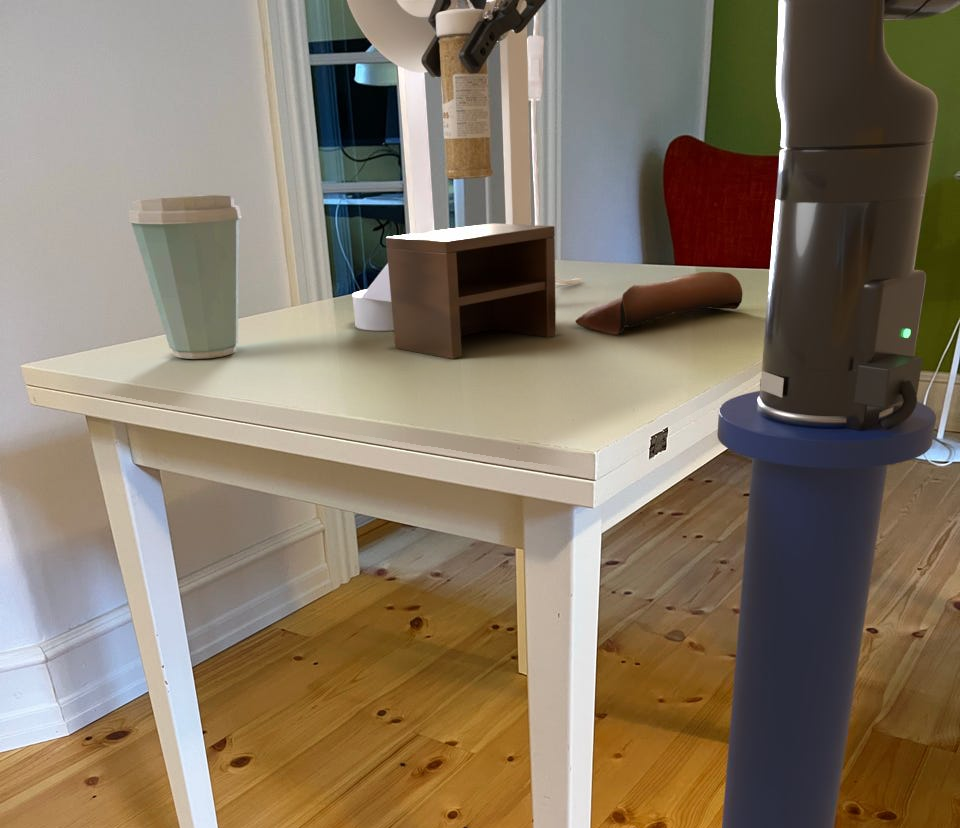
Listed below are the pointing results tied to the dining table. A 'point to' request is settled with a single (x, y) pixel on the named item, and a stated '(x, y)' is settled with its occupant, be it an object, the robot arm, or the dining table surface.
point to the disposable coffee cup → (192, 269)
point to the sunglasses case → (664, 301)
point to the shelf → (471, 284)
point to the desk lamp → (403, 40)
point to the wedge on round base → (374, 305)
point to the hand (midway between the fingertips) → (448, 67)
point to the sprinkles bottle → (463, 99)
